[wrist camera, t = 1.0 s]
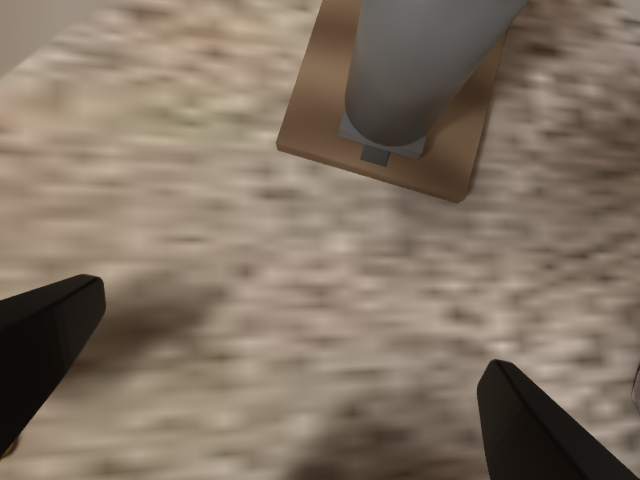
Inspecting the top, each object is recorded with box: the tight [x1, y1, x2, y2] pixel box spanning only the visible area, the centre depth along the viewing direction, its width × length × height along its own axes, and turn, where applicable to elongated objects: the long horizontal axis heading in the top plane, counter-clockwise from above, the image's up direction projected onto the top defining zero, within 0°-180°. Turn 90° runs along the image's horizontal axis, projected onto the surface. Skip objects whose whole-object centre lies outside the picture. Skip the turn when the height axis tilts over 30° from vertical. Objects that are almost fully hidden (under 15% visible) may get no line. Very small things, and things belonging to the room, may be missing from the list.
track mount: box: [276, 0, 508, 203], centre depth 22 cm, size 15×12×5 cm
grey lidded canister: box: [338, 0, 528, 159], centre depth 16 cm, size 6×6×14 cm
